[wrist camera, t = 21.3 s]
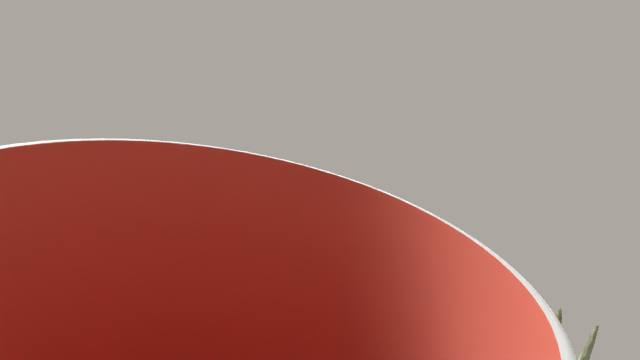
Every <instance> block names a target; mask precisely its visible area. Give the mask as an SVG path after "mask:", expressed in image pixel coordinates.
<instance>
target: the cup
mask: <svg viewBox="0 0 640 360" xmlns="http://www.w3.org/2000/svg"><path fill="white" fill-rule="evenodd" d="M0 360H577V357H576V355H575V352H574V349H573V346H572V344H571V342H570V339H569V338H568V336H567V334H566V332H565V330H564V329H563V327H562V325H561V323H560V321H559V320H558V318H557V317H556V316H555V314H554V313H553V311H552V310H551V309H550V307H549V306H548V304H547V303H546V302H545V301H544V299H543V298H542V297H541V296H540V295H539V293H538V292H537V291H536V290H535V289H534V288H533V287H532V286H531V284H530V283H528V282H527V281H526V280H525V279H524V278H523V277H522V276H521V275H520V274H519V273H518V272H517V271H516V270H515V269H514V268H513V267H512V266H510V265H509V264H508V263H507V262H506V261H505V260H503V259H502V258H501V257H499V256H498V255H497V254H496V253H494V252H493V251H492V250H490V249H489V248H488V247H486V246H485V245H484V244H482V243H481V242H479V241H478V240H476V239H475V238H473V237H472V236H470V235H469V234H467V233H466V232H464V231H462V230H461V229H459V228H458V227H456V226H454V225H452V224H451V223H449V222H447V221H445V220H444V219H442V218H440V217H438V216H436V215H434V214H433V213H431V212H429V211H426V210H425V209H423V208H421V207H419V206H416V205H414V204H412V203H410V202H408V201H406V200H403V199H401V198H399V197H397V196H394V195H392V194H390V193H387V192H385V191H382V190H380V189H377V188H374V187H372V186H370V185H366V184H364V183H361V182H359V181H356V180H353V179H350V178H347V177H344V176H341V175H338V174H335V173H331V172H328V171H325V170H322V169H318V168H315V167H311V166H307V165H303V164H299V163H296V162H291V161H288V160H284V159H279V158H275V157H270V156H266V155H261V154H256V153H251V152H246V151H240V150H234V149H228V148H222V147H215V146H208V145H200V144H191V143H182V142H171V141H158V140H142V139H105V138H104V139H103V138H102V139H101V138H96V139H66V140H48V141H37V142H27V143H17V144H10V145H3V146H0Z"/></svg>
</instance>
